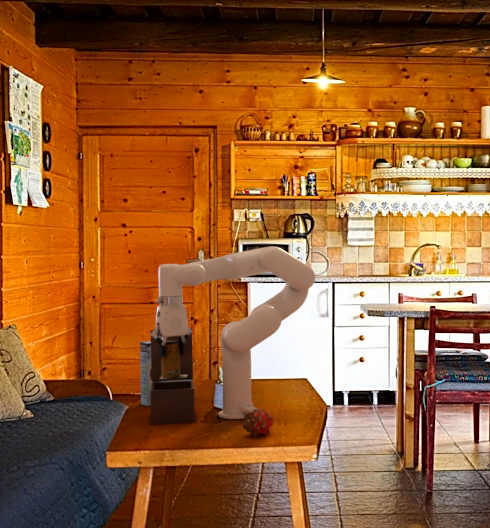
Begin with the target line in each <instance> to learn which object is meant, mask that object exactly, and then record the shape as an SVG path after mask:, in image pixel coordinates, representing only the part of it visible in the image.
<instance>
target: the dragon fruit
mask: <svg viewBox="0 0 490 528" xmlns="http://www.w3.org/2000/svg"><path fill="white" fill-rule="evenodd" d="M273 424H274V419H273V418H272V416H271V415H270V413H269V412H268V411H266V410H265V409H263V408H259V409H258V408H257V410H254V411H252V412H250V413H249V414H246V415H245V416H244V421H243V425H242V428H243V430H245V431H246V432H247V433H250V434H251V435H252V436H254V437H259V436H260V435H268V434H269V433H270V429H271V427H272V426H273Z"/></svg>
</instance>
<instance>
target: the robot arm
mask: <svg viewBox="0 0 490 528" xmlns="http://www.w3.org/2000/svg"><path fill="white" fill-rule="evenodd" d="M157 272H158V298H156V299H155V302H156V303H157V304H158V306H157V307H156V314H155V327H154V329H152V330H153V332H152V333H151V332H150V334H149V335H150V338H151V337H152V338H153V339H154V340H155V341H156V342H157V344H158V345H159V355H160V357H163V358H166V357H167V346H166V345H165V343H166V339H167V337H172V336H176V337H177V340H178V345H179V347H178V348H179V350H180V355H184V343H185V342H186V340H187V338H188V336H189V335H190V334H191V332H192V333H193V329H192V328H190V327H189V321H188V314H187V313H188V312H187V308H186V305H185V304H184V303H183V286H190V287H197V286H199V285H202V284H204V283H207V282H213V281H219V280H236V279H242V278H247V277H250V276H251V277H252V276H257V275H260V274H266V273H271V274H273V275H274V276H276V277H277V278H279V279H281V280H282V281H284V282H285V285H284V287H283V288H282V290H280V291H279V292H278V293H276V294H275V295H274V296H272V297H271V298H269V299H267V300H266V301H264V302H263V303H261V304H259V305H257V306H256V307H254V308H253V309H252V310H251V312H250V314H249V315H248V316H246V317H244V318H243V319H241V320H240V321H236V320H235V321H231V322H229V323H227V324H226V325H225V326H224V327H223V328H222V331H221V334H220V343H221V362H222V363H221V364H222V365H221V368H222V369H221V370H222V375H221V376H222V410H221V411H219V412H218V414H217V415H218V417H219V418H221V419H225V420H242V419H243V420H245V418H244V416H245V415H246V414H249V413H250V412H252V411H254V410H258V407H255V406H254V402H252V401H253V400H252V353H251V349H253V348H255V347H256V346H257V345H259V344H261V343H262V342H264V341H265V340H266V339H268V338H270V337H271V336H272V335H274V334H275V333H276V332H277V331H278V330H279V329H280V327H281V325H282V322H283V321H284V320H286V319H287V318H289V317H290V316H291V315H293V314H294V313H296V312H297V311H298V310H300V308H301V307H302V306H303V305H304V304H305V302H306V300H307V297H308V294H309V289H310V288H311V287H313V285H314V284H315V281H316V274H315V271H314V270H313V268H312V267H311V266H309V265H308V264H306V263H304V262H303V261H302V260H300V259H298V258H297V257H295V256H293V255H291V254H290V253H289V252H287V251H285V250H284V249H282V248H281V247H279V246H272V245H271V246H270V245H269V246H264V247H259V248H254V249H249V250H243V251H238V252H233V253H229V254H225V255H222V256H218V257H214V258H209V259H202V260H198V261H193V262H188V263H185V264H184V263H183V264H179V263H163V264H162V263H161V264H160V265H159V267H158V271H157ZM191 329H192V330H191ZM158 336H159V337H158Z"/></svg>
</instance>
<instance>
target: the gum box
mask: <svg viewBox="0 0 490 528" xmlns="http://www.w3.org/2000/svg"><path fill="white" fill-rule="evenodd" d="M139 350H140V351H139V357H140V364H139V365H140V404H141V405H142V406H145V407H151V392H150V391H151V384H152V383H153V382H174V381H193V382H194V379H193V380H172V381H152V375H151V340H149V341H140V342H139Z"/></svg>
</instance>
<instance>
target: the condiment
mask: <svg viewBox="0 0 490 528" xmlns="http://www.w3.org/2000/svg"><path fill="white" fill-rule="evenodd" d="M165 345H166V346H167V357H166V358H163V357H161V367H162V368H161V369H162V376H161V378H160V379H172V378H186V377H187V375H180V350H179V348H178V347H179V345H178V341H174V340H170V341H166V343H165Z"/></svg>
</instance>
